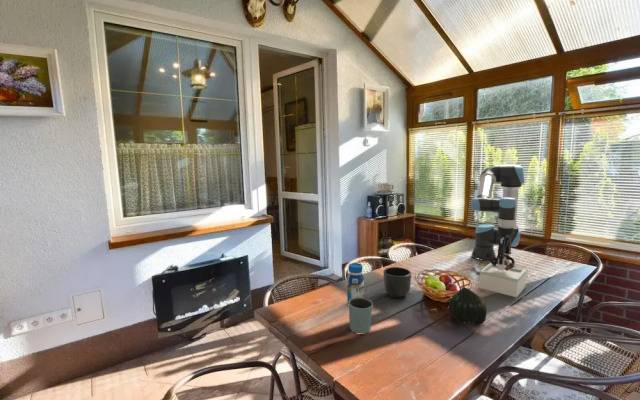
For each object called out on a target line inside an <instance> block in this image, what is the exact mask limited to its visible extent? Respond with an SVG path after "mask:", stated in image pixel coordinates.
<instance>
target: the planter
mask: <svg viewBox="0 0 640 400" xmlns="http://www.w3.org/2000/svg"><path fill="white" fill-rule="evenodd" d="M411 282H412V272H411V271H410V269H408V268H404V267H399V266H393V267H392V266H391V267H387V268H386V267H385V269H383V287H384V290H385V292H386V293H387V294H388V296H389V295H390V296H389V297H391V298H392V297H393V299H398V298H399V299H403V298H405V297H406V296H407V295H408V294H409V292H410V290H411V285H412V283H411Z"/></svg>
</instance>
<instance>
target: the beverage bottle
mask: <svg viewBox="0 0 640 400" xmlns="http://www.w3.org/2000/svg"><path fill="white" fill-rule="evenodd" d="M348 272H349V273H348V275H347V276H346V279H347V281H346V287H347V292H346V293H347V294H346V296H347V297H346V298H347V299H346V300H347V305H348V304H349V303H348V302H349V300H350V299H352V298H357V297H361V298H365V282H364V280H365V276H364V275H363V264H361V263H359V262H351V263H349V264H348Z"/></svg>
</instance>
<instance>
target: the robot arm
mask: <svg viewBox="0 0 640 400" xmlns="http://www.w3.org/2000/svg"><path fill="white" fill-rule="evenodd" d="M524 172H525V171H524V167H523V166H522V165H516V164H503V165H502V164H498V165H497V164H496V165H495V164H494V165H491V166H489V167H487V168H485V169H484V170H483V171H482V172H481V173H480V175H479V178H478V179H479V185H478V190H477V194H476V197H472V198H471V201H470V209H471V211H476V212H489V213H498V219H497V220H496V221H497V223H498V224H497V225H498V226H497V227H496V226H495V225H494V224H490V223H489V224H488V223H487V224H486V223H485V224H479V225H477V226H476V227H475V231H474V233H475V235H474V239H475V240H474V247H473V249H472V251H471V258H473V259H474V258H479V259H482V260H489V261H488V262H490V258H491V257H496V258H498V270H502V271H504V260H505V261H506V262H508V265H509V264H510V260H509V259H507V258H506V257H504V255H508V256H511V255H512V252H511V251H512V247H517V246H519V243H520V238H521V234H522V233H521V232H522V230H521V229H520V227H519V225H518V224H517V219H518V218H517V216H518V215H517V214H518V202H519V189H520V188H521V187H522V186H523V185H524V184H525V173H524ZM494 184H500V187H501V188H502V197H500V198H492V194H493V187H494ZM495 245H497V246H498V247H497V255H496V253H495V248H494V246H495ZM482 260H481V261H482ZM505 266H506V265H505Z"/></svg>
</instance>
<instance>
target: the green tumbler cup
mask: <svg viewBox="0 0 640 400" xmlns="http://www.w3.org/2000/svg"><path fill="white" fill-rule="evenodd" d="M348 303H349V305H348V319H349V330H350V329H351V330H352V331H353V332H356V333H367V332H369V331H371V324H372V315H373V313H372V312H373V306H374V304H373V301H372V300H370V299H368V298H366V297H364V298H361V297H357V298H352V299H350V300H349V302H348ZM348 303H347V304H348ZM351 330H350V331H351ZM353 332H352V333H353ZM369 333H370V332H369ZM367 334H368V333H367Z"/></svg>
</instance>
